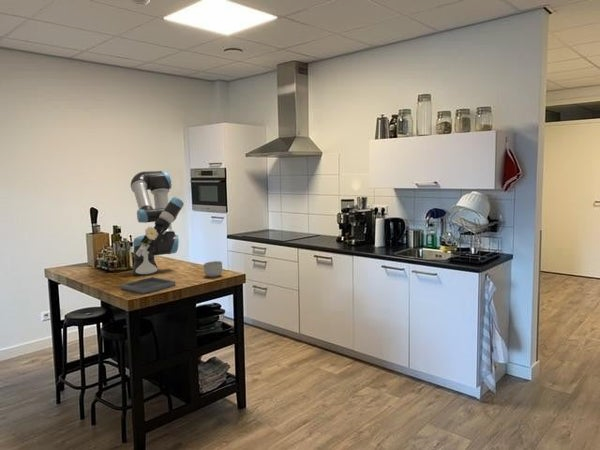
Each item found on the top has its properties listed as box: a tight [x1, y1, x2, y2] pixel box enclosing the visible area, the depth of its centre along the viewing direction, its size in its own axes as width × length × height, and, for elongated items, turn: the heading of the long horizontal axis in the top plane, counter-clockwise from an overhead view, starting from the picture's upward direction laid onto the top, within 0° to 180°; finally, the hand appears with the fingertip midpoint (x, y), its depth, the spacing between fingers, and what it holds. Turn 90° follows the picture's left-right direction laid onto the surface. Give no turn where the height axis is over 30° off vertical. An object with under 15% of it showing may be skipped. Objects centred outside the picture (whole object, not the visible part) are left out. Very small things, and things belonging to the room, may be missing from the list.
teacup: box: [203, 260, 223, 278], centre depth 274 cm, size 14×11×8 cm
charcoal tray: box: [120, 276, 176, 295], centre depth 249 cm, size 20×20×2 cm
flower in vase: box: [135, 226, 159, 274], centre depth 246 cm, size 13×11×25 cm
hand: (140, 255), depth 243 cm, fingers closed on flower in vase, 4 cm apart
